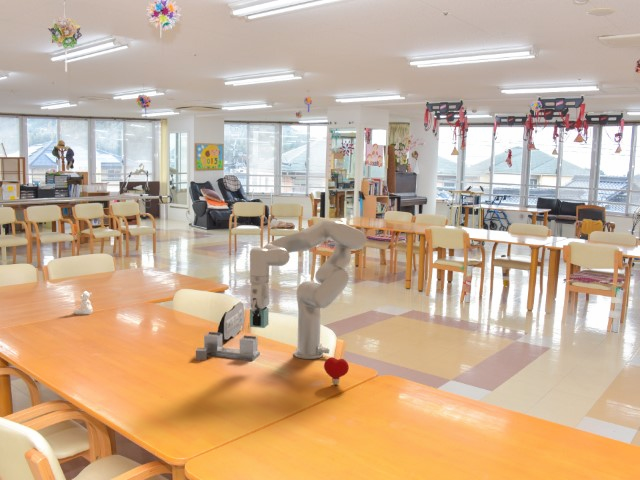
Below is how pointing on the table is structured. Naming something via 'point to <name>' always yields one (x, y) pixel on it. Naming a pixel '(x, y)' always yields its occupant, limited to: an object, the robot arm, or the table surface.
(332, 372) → the light bulb
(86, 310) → the white creature statuette
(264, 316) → the module
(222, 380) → the table surface
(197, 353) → the block
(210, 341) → the board
